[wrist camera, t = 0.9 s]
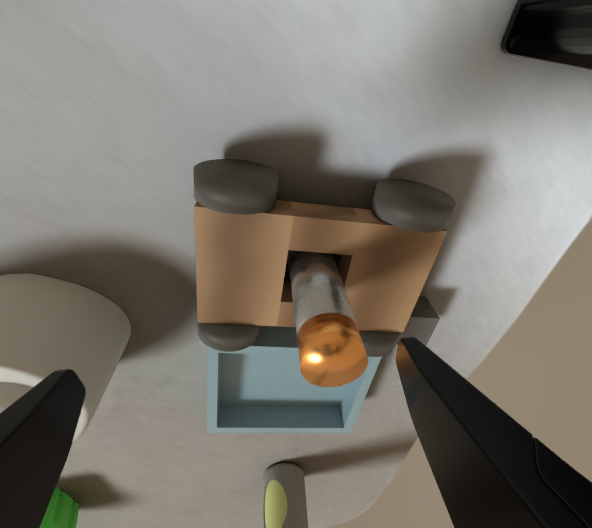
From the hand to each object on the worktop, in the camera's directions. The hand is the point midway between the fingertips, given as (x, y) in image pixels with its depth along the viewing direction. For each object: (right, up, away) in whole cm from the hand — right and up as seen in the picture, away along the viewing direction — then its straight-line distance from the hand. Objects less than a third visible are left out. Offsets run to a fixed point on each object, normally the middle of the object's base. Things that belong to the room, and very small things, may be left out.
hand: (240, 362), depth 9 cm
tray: (+1, -6, +20) cm, 21 cm away
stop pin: (+2, +4, +14) cm, 14 cm away
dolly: (+4, +3, +14) cm, 15 cm away
